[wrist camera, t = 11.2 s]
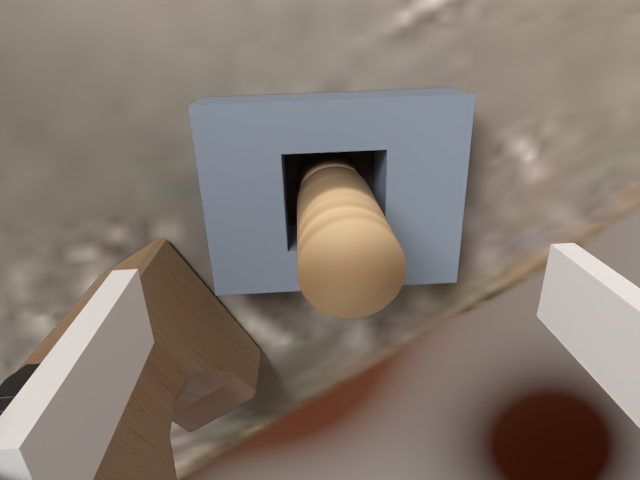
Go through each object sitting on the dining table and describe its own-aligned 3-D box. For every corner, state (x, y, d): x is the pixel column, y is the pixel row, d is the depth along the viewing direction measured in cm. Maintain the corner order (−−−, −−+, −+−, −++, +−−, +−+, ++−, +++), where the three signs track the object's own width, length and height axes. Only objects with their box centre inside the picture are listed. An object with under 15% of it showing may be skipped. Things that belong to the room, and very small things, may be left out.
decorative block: (264, 351, 32) (222, 759, 14) (200, 386, 33) (80, 811, 15) (166, 231, 28) (-82, 579, 10) (96, 274, 29) (-251, 666, 11)
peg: (294, 151, 26) (293, 224, 15) (361, 148, 26) (408, 218, 15) (298, 214, 28) (300, 322, 17) (361, 211, 28) (404, 315, 17)
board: (203, 97, 25) (187, 105, 21) (449, 87, 25) (475, 93, 22) (225, 264, 29) (215, 295, 25) (436, 253, 29) (456, 282, 26)
